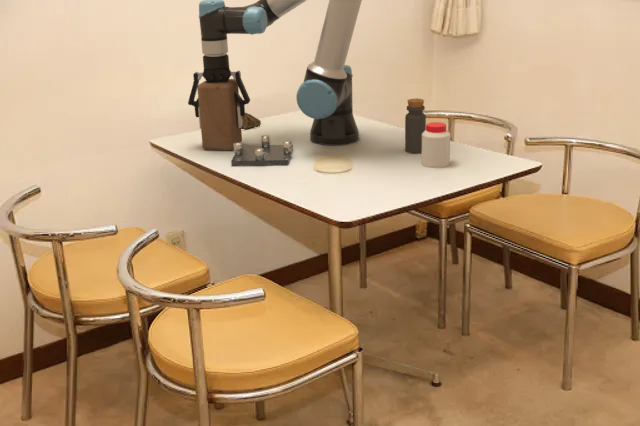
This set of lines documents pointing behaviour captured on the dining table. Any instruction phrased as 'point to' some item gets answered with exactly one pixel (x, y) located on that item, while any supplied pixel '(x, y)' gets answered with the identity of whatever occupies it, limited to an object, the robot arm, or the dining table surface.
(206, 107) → the wooden block
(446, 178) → the dining table surface
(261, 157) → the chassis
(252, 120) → the brown rounded lump
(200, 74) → the robot arm
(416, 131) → the bottle
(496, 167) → the dining table surface
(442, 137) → the pill bottle
